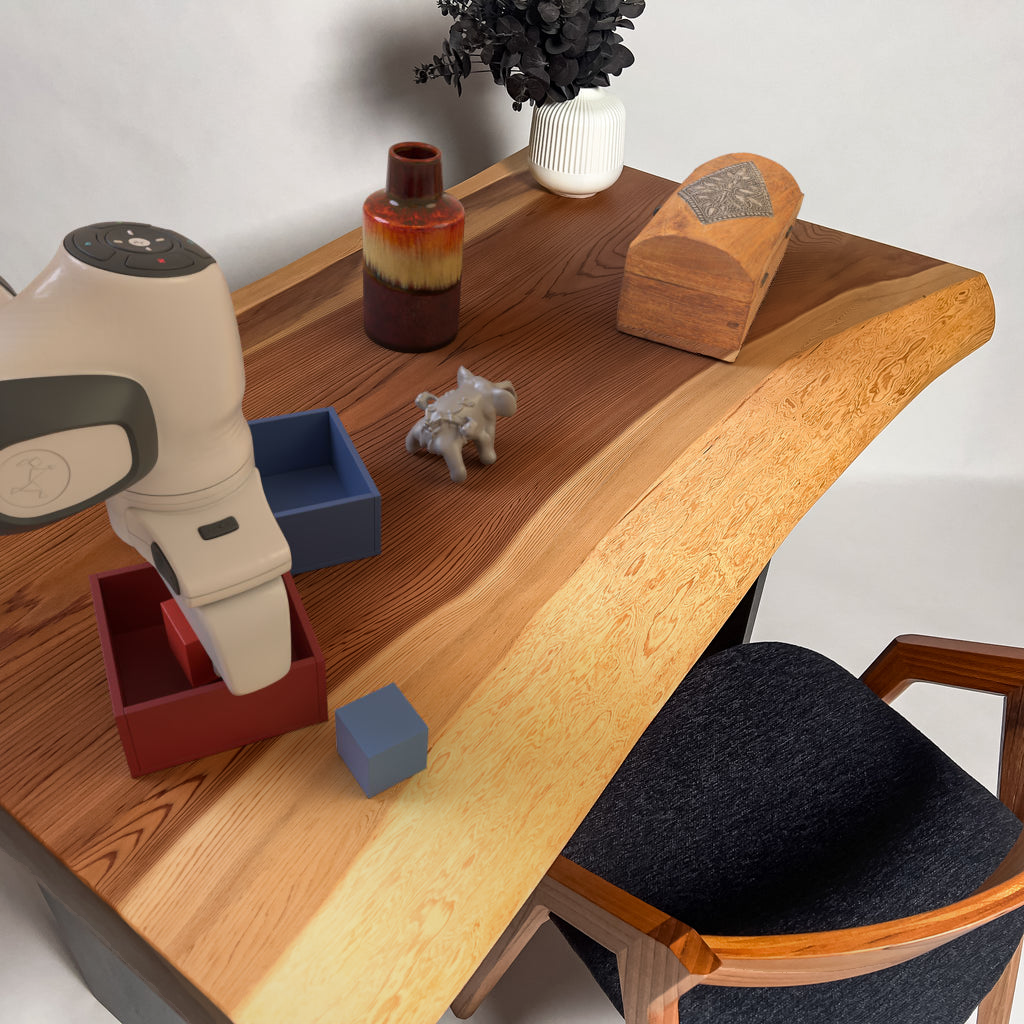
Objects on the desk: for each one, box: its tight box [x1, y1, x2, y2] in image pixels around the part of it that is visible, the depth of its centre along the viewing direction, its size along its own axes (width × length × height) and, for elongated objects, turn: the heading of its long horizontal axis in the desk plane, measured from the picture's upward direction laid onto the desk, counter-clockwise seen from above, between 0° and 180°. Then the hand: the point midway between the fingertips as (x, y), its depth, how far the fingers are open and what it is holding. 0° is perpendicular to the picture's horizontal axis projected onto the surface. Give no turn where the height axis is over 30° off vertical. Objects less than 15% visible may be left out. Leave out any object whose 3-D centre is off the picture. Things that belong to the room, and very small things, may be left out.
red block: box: [161, 598, 220, 688], centre depth 67 cm, size 4×4×4 cm
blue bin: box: [246, 405, 382, 576], centre depth 81 cm, size 13×13×6 cm
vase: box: [361, 141, 466, 354], centre depth 103 cm, size 11×11×20 cm
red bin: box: [87, 561, 329, 779], centre depth 68 cm, size 13×13×6 cm
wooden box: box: [615, 151, 805, 354], centre depth 118 cm, size 30×16×14 cm, turn 156°
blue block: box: [334, 682, 430, 799], centre depth 64 cm, size 4×4×4 cm
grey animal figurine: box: [405, 365, 518, 484], centre depth 91 cm, size 9×12×8 cm
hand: (209, 639), depth 67 cm, fingers closed on red block, 4 cm apart
